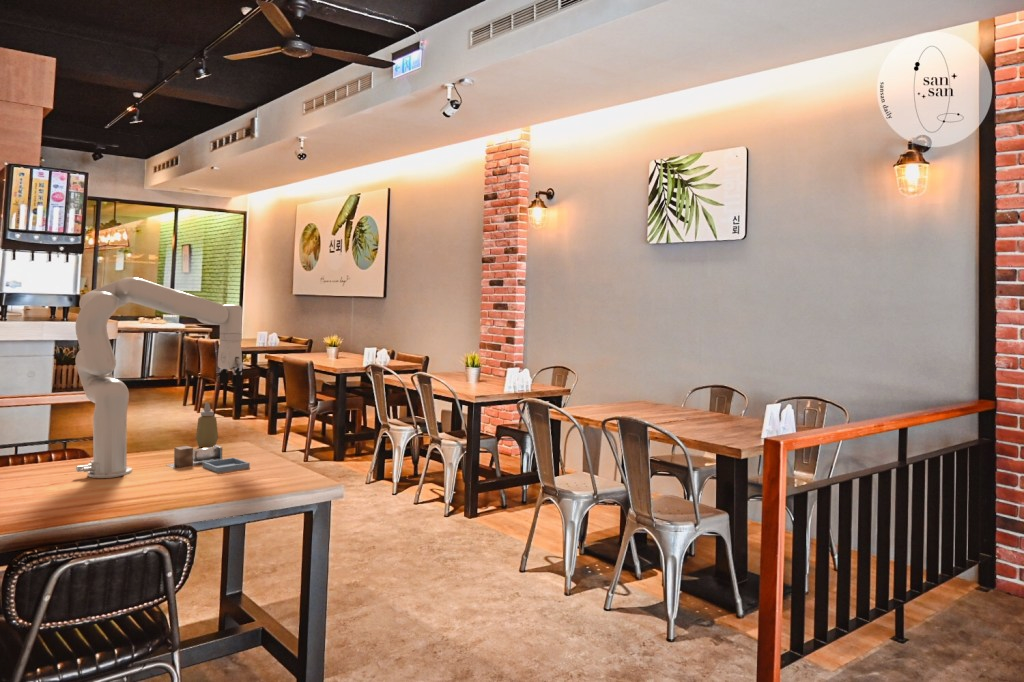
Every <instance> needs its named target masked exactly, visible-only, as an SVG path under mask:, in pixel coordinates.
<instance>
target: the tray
mask: <svg viewBox="0 0 1024 682" xmlns="http://www.w3.org/2000/svg"><path fill="white" fill-rule="evenodd" d="M250 466H251V465H250V462H248V461H245V460H243V459H239V458H237V457H229V458H222V459H221V460H214V461H207V462H203V465H202V468H203V469H206V470H208V471H212V472H214V473H217V474H220V475H222V474H224V473H226V474H227V473H230V472H232V473H235V472H236V471H239V472H240V471H242V470H245V471H247V470H248V469H250Z"/></svg>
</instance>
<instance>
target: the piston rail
mask: <svg viewBox="0 0 1024 682" xmlns="http://www.w3.org/2000/svg"><path fill="white" fill-rule="evenodd" d="M214 460H218V459H212V460H205V461H198V462H194V461H193V465H189V466H182V467H179V466H176V465H174V463H171V464H166V466H167V467H170V468H172V469H175V470H176V469H181V468H189V467H194V466H203V462H207V461H214Z"/></svg>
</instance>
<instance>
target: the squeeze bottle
mask: <svg viewBox="0 0 1024 682" xmlns="http://www.w3.org/2000/svg"><path fill="white" fill-rule="evenodd" d="M214 412H215V411H214V410H212V409H211V405H210V402H209V401H206V402H205V404H204V409H203V410H201V411H200V416H199V417H198V418H197V428H196V434H195V440H196V443H197V446H198V448H199V447H207V448H209V447H213V446H214V445H217V443H218V439H219V432H218V423H217V417H216V416H214V414H215V413H214Z"/></svg>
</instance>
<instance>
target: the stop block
mask: <svg viewBox="0 0 1024 682" xmlns="http://www.w3.org/2000/svg"><path fill="white" fill-rule="evenodd" d="M193 450H194V448H193V447H192V446H188V445H183V446H178V447H177V446H176V447H174V451H173V457H174V458H173V461H174V462H173V464H174V465H176V466H179V467H182V466H189V465H193ZM189 467H190V466H189ZM182 468H183V467H182Z"/></svg>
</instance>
